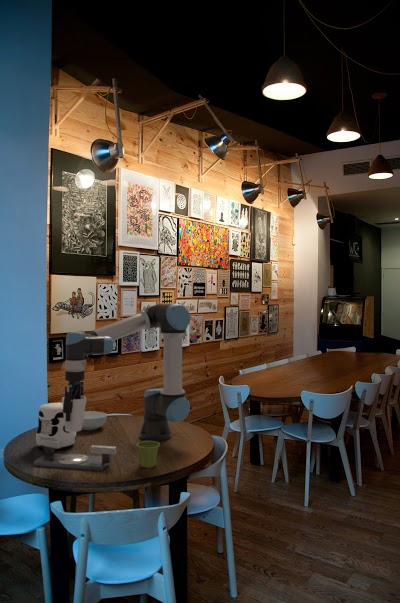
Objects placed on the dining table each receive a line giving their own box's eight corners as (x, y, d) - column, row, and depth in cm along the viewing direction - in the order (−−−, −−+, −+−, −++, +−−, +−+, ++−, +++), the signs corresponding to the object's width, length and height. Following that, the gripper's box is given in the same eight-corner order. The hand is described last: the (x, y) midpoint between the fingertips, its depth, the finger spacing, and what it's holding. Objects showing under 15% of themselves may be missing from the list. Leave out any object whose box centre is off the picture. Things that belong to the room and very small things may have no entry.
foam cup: (87, 431, 195) (88, 399, 195) (64, 434, 191) (65, 400, 191) (81, 425, 204) (82, 394, 204) (59, 428, 200) (60, 396, 199)
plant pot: (139, 470, 191) (140, 448, 190) (133, 463, 199) (133, 441, 199) (162, 468, 194) (163, 446, 194) (155, 460, 203) (155, 439, 203)
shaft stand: (120, 460, 202) (120, 442, 202) (110, 471, 189) (111, 452, 189) (41, 455, 207) (41, 437, 207) (26, 465, 194) (26, 446, 194)
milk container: (73, 439, 231) (74, 401, 231) (78, 450, 214) (79, 409, 214) (35, 442, 225) (35, 403, 225) (36, 453, 208) (37, 411, 208)
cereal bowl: (94, 434, 240) (94, 419, 240) (66, 430, 246) (66, 416, 246) (112, 426, 256) (113, 412, 256) (85, 422, 262) (85, 409, 262)
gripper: (73, 374, 186) (71, 433, 186) (93, 367, 208) (92, 420, 208) (54, 373, 187) (52, 432, 187) (76, 366, 209) (75, 419, 209)
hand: (73, 426), depth 197 cm, fingers closed on foam cup, 9 cm apart
